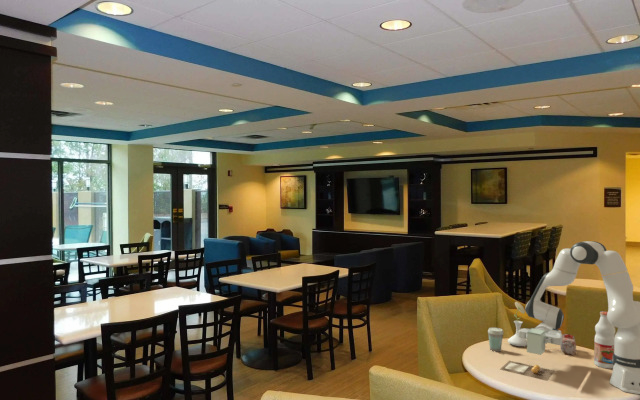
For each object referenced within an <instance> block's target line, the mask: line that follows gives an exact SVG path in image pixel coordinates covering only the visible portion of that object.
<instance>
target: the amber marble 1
mask: <svg viewBox="0 0 640 400" xmlns="http://www.w3.org/2000/svg"><path fill="white" fill-rule="evenodd" d="M531 370H532V372H533V373H538V369H537V368H536V367H533V368H532V369H531Z"/></svg>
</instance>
